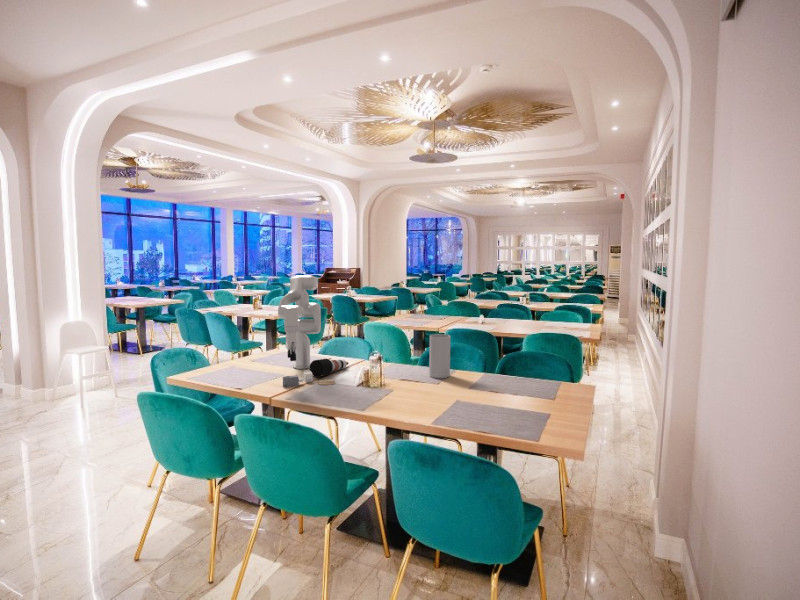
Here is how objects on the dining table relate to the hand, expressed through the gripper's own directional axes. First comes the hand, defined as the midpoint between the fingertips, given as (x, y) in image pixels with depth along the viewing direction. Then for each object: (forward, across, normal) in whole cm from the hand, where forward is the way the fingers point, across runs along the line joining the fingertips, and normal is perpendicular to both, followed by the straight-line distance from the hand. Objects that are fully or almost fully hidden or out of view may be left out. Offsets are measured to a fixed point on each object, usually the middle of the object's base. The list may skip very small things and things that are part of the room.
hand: (291, 359), depth 255 cm
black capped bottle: (+15, -22, +28) cm, 39 cm away
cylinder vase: (+15, +10, +87) cm, 89 cm away
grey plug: (+15, -1, 0) cm, 15 cm away
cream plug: (+15, -7, +10) cm, 19 cm away
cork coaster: (+15, +1, +19) cm, 24 cm away
